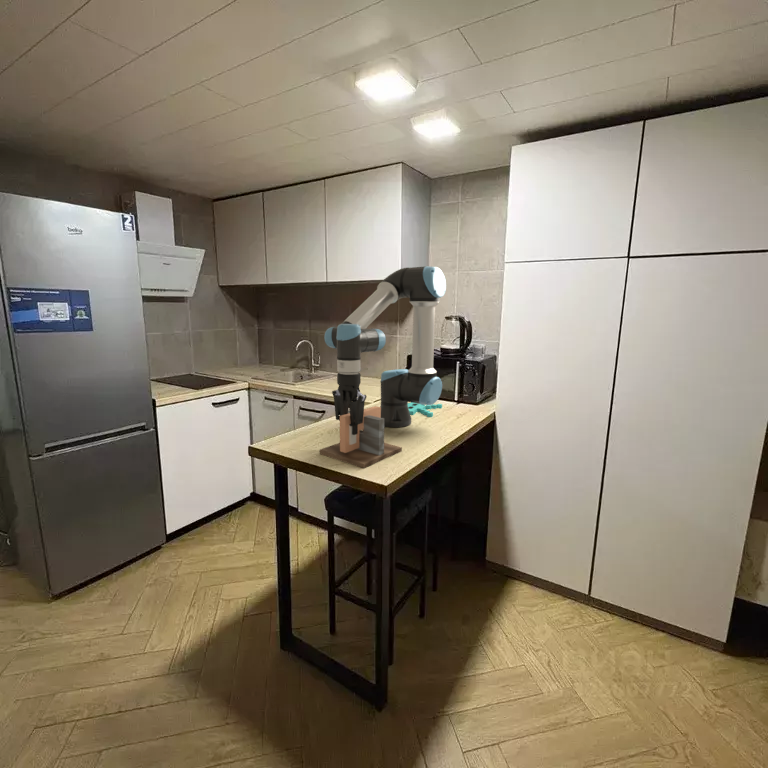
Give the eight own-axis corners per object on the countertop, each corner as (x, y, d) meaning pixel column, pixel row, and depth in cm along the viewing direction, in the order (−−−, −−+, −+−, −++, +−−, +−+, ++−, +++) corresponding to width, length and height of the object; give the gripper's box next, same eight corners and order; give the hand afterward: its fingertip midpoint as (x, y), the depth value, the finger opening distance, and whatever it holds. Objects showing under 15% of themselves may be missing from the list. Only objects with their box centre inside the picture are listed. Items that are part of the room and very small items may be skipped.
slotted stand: (359, 439, 158) (359, 404, 156) (401, 451, 146) (402, 413, 143) (319, 453, 143) (319, 415, 140) (363, 468, 130) (363, 426, 128)
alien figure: (442, 408, 209) (404, 404, 216) (442, 404, 209) (404, 400, 216) (431, 418, 191) (390, 413, 198) (431, 413, 190) (390, 409, 198)
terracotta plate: (375, 438, 151) (375, 406, 149) (380, 439, 150) (380, 407, 148) (340, 451, 137) (339, 415, 135) (345, 453, 136) (345, 417, 134)
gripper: (323, 371, 136) (324, 440, 140) (359, 376, 127) (359, 450, 131) (339, 368, 142) (340, 435, 146) (374, 373, 132) (374, 444, 137)
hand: (349, 442), depth 139 cm, fingers closed on terracotta plate, 2 cm apart
